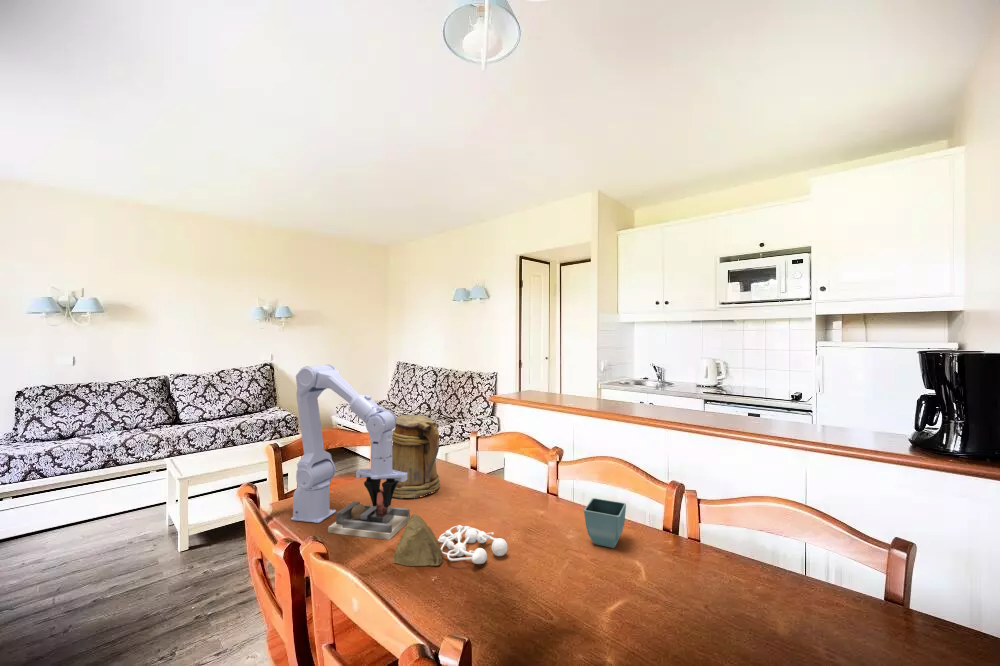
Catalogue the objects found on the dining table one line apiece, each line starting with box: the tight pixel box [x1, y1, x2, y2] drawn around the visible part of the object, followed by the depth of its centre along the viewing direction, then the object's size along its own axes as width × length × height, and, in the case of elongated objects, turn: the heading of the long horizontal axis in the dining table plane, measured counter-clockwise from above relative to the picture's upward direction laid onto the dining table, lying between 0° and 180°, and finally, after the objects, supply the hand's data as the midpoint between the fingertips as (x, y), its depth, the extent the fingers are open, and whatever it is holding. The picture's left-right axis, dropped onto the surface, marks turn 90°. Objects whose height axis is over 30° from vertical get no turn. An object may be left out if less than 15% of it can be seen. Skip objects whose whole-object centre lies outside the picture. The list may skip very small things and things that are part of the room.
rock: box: [392, 513, 444, 567], centre depth 93 cm, size 11×9×10 cm
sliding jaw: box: [361, 488, 394, 524], centre depth 111 cm, size 6×8×8 cm
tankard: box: [392, 414, 441, 499], centre depth 138 cm, size 18×24×25 cm
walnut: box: [351, 503, 366, 520], centre depth 112 cm, size 4×4×4 cm
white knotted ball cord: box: [437, 524, 509, 565], centre depth 99 cm, size 19×14×4 cm
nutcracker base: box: [327, 501, 411, 541], centre depth 112 cm, size 18×12×4 cm, turn 76°
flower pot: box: [583, 497, 627, 549], centre depth 102 cm, size 9×9×9 cm
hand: (381, 505), depth 111 cm, fingers closed on sliding jaw, 3 cm apart
